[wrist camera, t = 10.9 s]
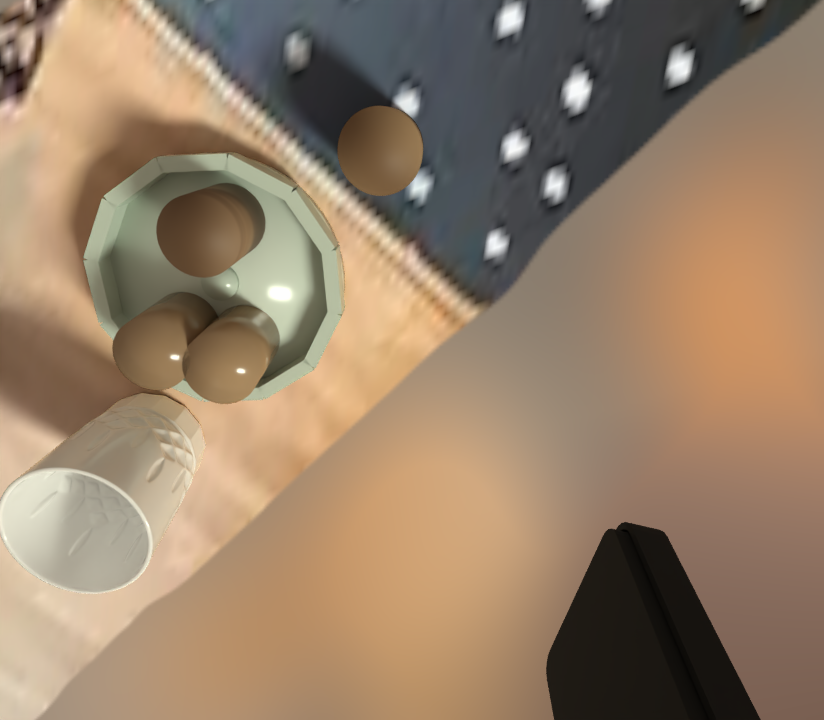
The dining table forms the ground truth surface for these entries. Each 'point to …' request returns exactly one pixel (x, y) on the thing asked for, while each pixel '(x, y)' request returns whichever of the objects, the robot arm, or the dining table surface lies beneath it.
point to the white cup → (104, 496)
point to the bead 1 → (210, 229)
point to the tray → (215, 285)
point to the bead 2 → (380, 150)
